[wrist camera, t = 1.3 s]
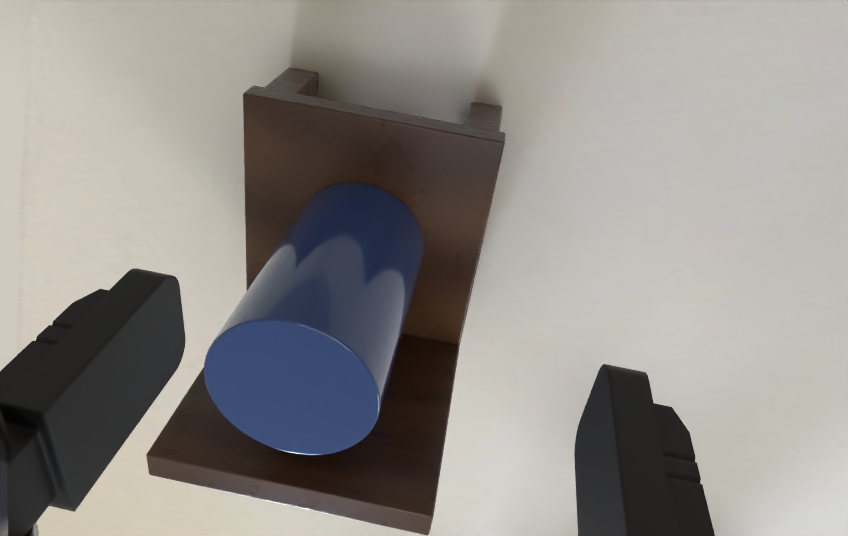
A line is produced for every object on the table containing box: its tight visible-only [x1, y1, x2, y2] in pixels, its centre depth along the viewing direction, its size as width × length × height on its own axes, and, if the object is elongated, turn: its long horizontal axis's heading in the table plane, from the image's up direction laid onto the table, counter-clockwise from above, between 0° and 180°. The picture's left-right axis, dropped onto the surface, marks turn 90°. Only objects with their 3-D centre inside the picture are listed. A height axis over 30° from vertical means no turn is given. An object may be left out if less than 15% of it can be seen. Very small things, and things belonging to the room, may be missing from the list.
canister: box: [204, 183, 424, 455], centre depth 25 cm, size 6×6×10 cm
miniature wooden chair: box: [147, 68, 505, 535], centre depth 27 cm, size 12×11×15 cm
